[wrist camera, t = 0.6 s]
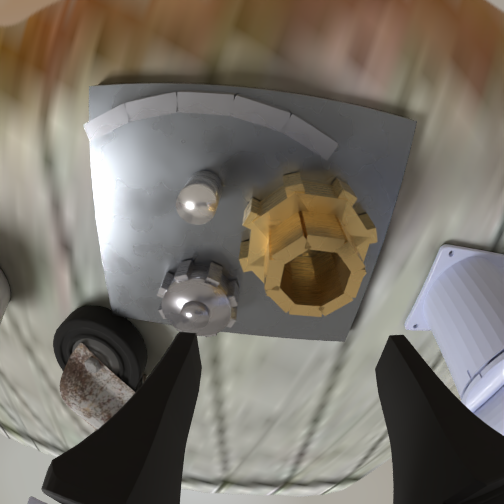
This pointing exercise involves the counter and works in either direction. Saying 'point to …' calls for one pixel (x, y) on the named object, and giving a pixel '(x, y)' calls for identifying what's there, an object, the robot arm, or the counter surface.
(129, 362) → the caster wheel
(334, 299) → the planet gear
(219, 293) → the carrier
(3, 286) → the cupcake
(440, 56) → the counter surface
